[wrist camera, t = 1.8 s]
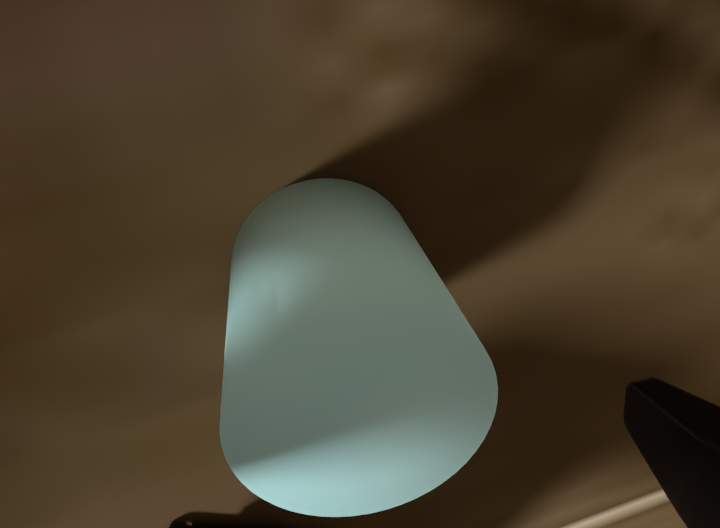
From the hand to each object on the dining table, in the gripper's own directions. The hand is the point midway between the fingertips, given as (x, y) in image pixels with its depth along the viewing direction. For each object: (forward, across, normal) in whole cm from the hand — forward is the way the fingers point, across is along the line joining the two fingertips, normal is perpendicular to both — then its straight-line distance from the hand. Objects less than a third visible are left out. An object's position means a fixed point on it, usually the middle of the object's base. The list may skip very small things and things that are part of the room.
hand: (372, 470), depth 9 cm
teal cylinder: (+7, 0, 0) cm, 7 cm away
